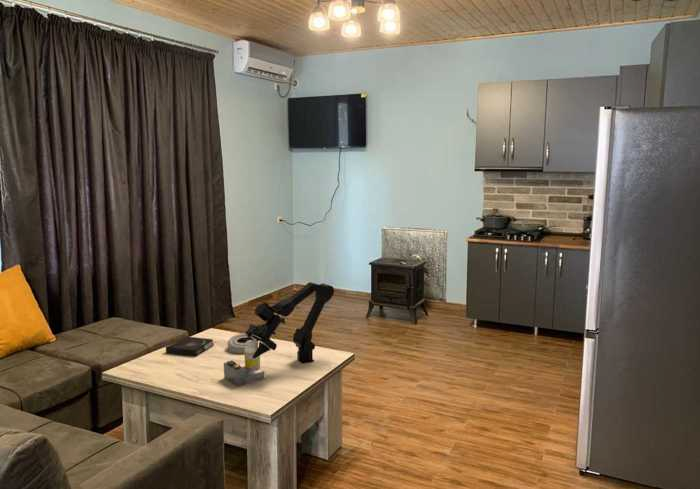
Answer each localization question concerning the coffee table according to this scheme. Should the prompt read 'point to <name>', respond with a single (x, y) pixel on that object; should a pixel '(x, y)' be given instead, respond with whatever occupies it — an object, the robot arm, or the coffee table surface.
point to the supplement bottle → (251, 356)
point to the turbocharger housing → (238, 343)
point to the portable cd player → (189, 346)
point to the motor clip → (240, 374)
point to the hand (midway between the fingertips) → (249, 355)
